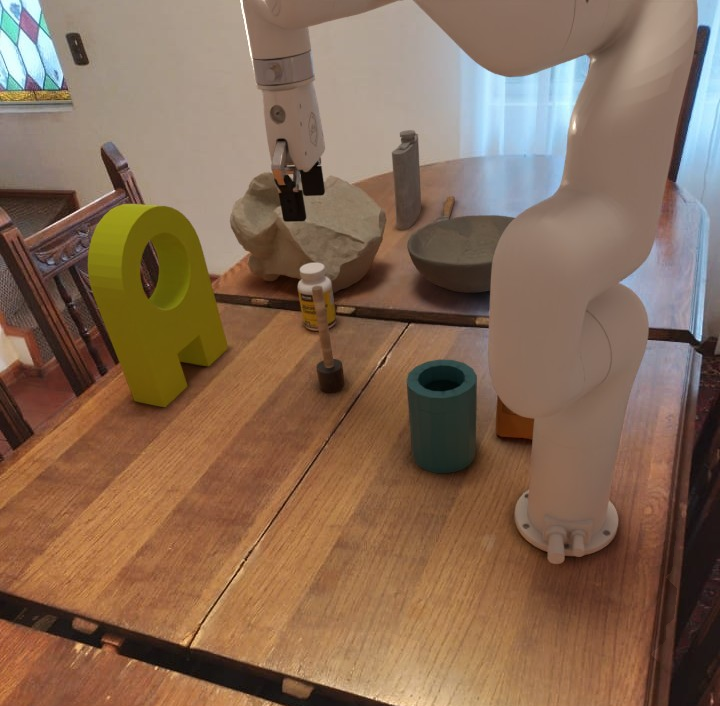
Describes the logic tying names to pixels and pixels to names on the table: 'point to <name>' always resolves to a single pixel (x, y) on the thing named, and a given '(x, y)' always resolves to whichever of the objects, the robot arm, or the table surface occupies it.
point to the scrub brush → (326, 350)
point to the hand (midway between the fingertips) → (305, 207)
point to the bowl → (458, 251)
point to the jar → (442, 415)
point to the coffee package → (512, 423)
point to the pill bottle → (310, 278)
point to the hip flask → (407, 180)
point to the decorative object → (154, 299)
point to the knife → (447, 208)
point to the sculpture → (309, 231)
